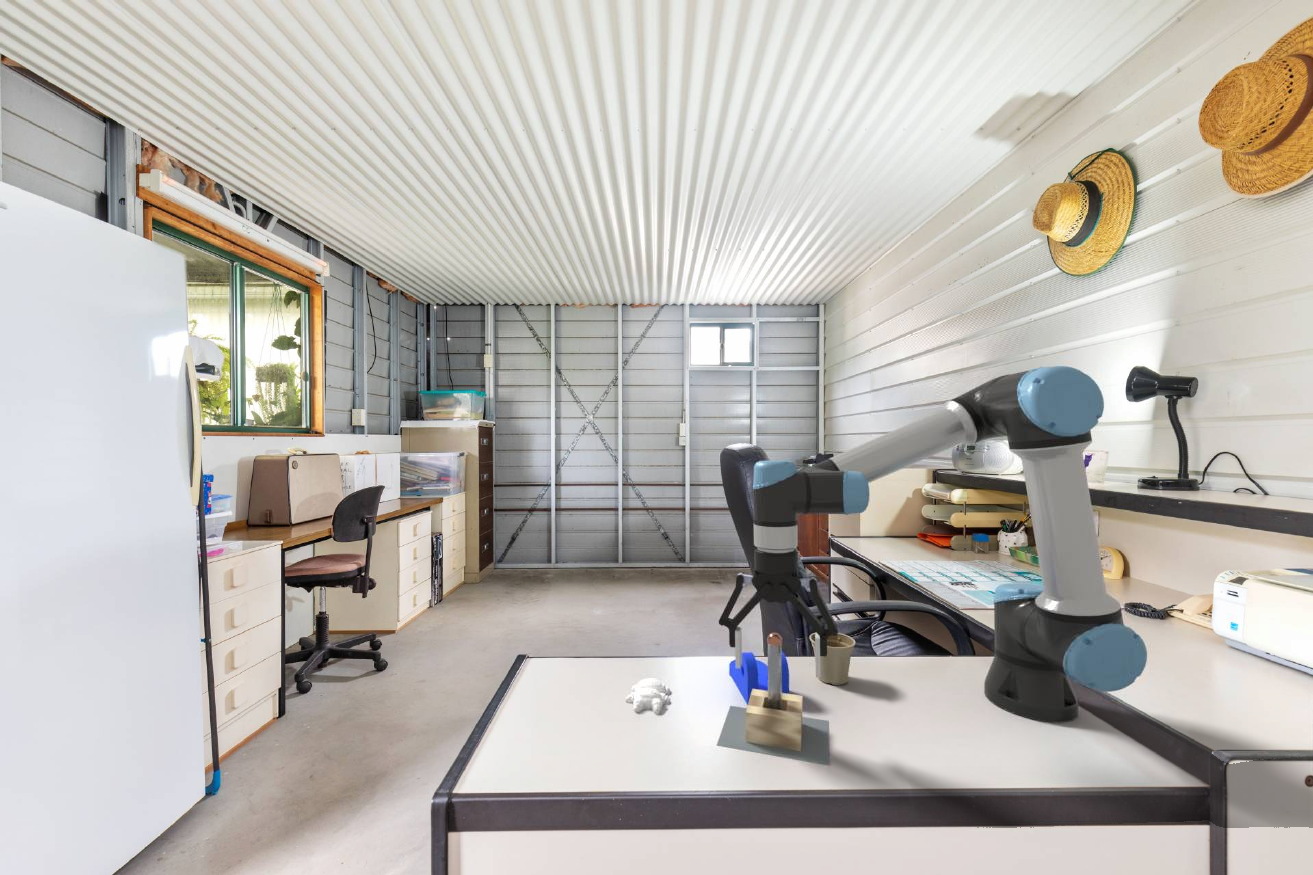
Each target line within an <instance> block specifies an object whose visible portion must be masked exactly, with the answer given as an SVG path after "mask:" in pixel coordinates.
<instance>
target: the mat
mask: <svg viewBox="0 0 1313 875" xmlns="http://www.w3.org/2000/svg"><path fill="white" fill-rule="evenodd" d="M746 710H747V707H742V706H737V705H736V706H733V705H729V709H728V711H727V715H726V716H725V717H726V718H725V721H724V723H723V726H722V728H721V732H720V734H719V738H718V740H717V744H716V746H717V747H722V748H723V747H724V748H728V749H729V748H730V749H735V750H739V751H740V750H741V751H746V752H753V753H756V754H757V753H758V754H764V755H768V756H772V757H773V756H774V757H780V758H784V759H792V760H796V761H802V762H808V763H814V764H819V765H825V766H830V765H831V764H830V761H831V759H830V729H829V728H830V727H829V724H830V722H829V720H827V719H819V718H812V717H804V716H803V722H802V739H801V751H796V750H790V749H784V748H779V747H773V746H767V745H761V744H756V743H750V742H746Z"/></svg>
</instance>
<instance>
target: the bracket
mask: <svg viewBox="0 0 1313 875" xmlns="http://www.w3.org/2000/svg"><path fill="white" fill-rule="evenodd" d="M728 668H729V669H728V670H729V672H728V674H729V677H731V679H732V681H733V682H734V684H735V686H736V688H737V689H738V691H739V693H740V695H741V697H742V698H743V699H744V701H745V704H746V706H748V703H749V699H750V696H751V692H752V689H758V690H765V691H768V664H766V663H765V662H763V661H761V660H759V659H756V656H755V654H754V653H753V652H752V651H750V652H749V651H747V652H745V651H744V652H742V664H741V667H740V668H736V664H735V659H733V660H732V661H730V662H729V666H728ZM782 693H786V694H790V668H789V663H788V659H787V657H786V654H785V653H784V652H783V651H782Z"/></svg>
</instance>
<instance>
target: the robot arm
mask: <svg viewBox="0 0 1313 875" xmlns="http://www.w3.org/2000/svg"><path fill="white" fill-rule="evenodd" d="M1104 409H1105V400H1104V396H1103V393H1102V390H1101V389H1100V386H1099V385H1098V384H1097V382H1096V381H1095V380H1094V379H1093V378H1092V377H1091V376H1090V375H1089V374H1086V373H1084V372H1083V371H1081V370H1080V369H1078V368H1074V367H1071V366H1068V365H1067V366H1065V365H1055V366H1040V367H1038V368H1034V369H1029V370H1025V371H1020V372H1015V373H1009V374H1005V375H1000V376H998V377H994V378H992V379H991V380H988V381H986V382H984V383H982V384H980V385H978V386H976V387H975V388H973V389H970V390H969V391H966V392H964V393H962V394H960V395H958V396H956V397H954V398H952V399H950V400H948V401H946V402H944V403H943V405H942V408H941V409H940V410H937V411H935V412H933V413H931V414H929V415H925V416H924V417H921V418H919V419H917V420H914V421H912V422H910V423H908V424H907V423H906V424H905V425H903V426H901V427H898V428H896V429H894V430H892V431H889V432H887V433H885V434H883V435H880V436H877V437H875V438H873V439H871V440H869V441H867V442H864V443H862V444H859V445H857V446H855V447H853V448H850V449H848V450H846V451H844V452H841V453H839V454H837V455H834V456H832V457H830V458H827V459H826V460H823V461H820V462H819V463H816V464H813V465H811V466H810V465H808V466H807V465H806V466H804V467H800V468H799V469H798V468H797V463H796V462H795V461H794V460H759V461H757V462H756V463H755V464H754V465H753V477H752V478H753V480H752V484H753V485H752V497H753V498H752V499H753V500H752V503H753V545H754V546H755V547H756V548H755V549H754V550H753V555H754V556H753V559H754V560H753V562H754V565H753V566H754V567H753V568H754V569H753V570H754V573H753V575H751V574H746V573H745V572H743V571H740V572H739V573H738V574H737V576H736V577H735V588H734V589H733V592H732V593H731V595H730V598H729V600H728V602H727V603H726V605H725V607H724V609H723V611H722V614H721V616H720V618H719V619H718V624H719V626H721V627H722V626H724V627H726V628H727V629H728V640H729V642H728V643H729V647H730V648H734V653H735V654H734V656H735V659H734V660H735V664H736V668H740V667H741V664H742V653H743V651H742V650H743V646H742V645H743V644H742V642H743V640H742V634H743V632H742V626H741V625H740V624H741V623H742V622H743V621H744V620H745V619H746V617H747V616H748V615H749V614H750V613H751V611H752V610H753V609H754V608H755V607H756V606H757V605H758V604H759V603H760V602H761V601H762V600H764V601H766V603H779V604H786V603H788V602H790V603H791V605H792V606H793V607H794V608H795V609H796V610H797V611H798V612H799V613H800V615H801V616H802V617H803V618H804V619H805V620H806V622H807V623H808V624H809V625H810V627H811V628H812V629H813V631H815V632H814V633H815V655H814V659H816V662H815V678H818V677H819V678H820V656H824V657H826V656H827V638H828V637H829V636H832V635H833V636H836V635H837V634H838V633H839V628H838V625H837V623H836V621H835V619H834V617H833V615H832V614H831V611H830V609H829V607H828V606H827V604H826V601H825V600H824V598H823V596H822V594H821V591H820V590H819V586H818V580H817V577H816V576H814V575H812V576H810V577H809V578H801V577H800V575H799V552H798V551H797V549H796V548H797V547H798V545H799V544H798V543H799V542H798V538H799V537H798V533H799V532H798V516H799V515H845V516H848V515H849V514H850V515H854V514H862V513H864V512H865V511H866V510H867V508H868V507H869V504H870V503H869V502H870V486H869V484H870V483H872V482H874V481H876V480H879V479H883V478H884V477H887V476H889V475H890V474H894V473H895V472H898V471H901V470H902V469H905V468H908V467H910V466H911V465H915V464H916V463H919V462H921V461H923V460H926V459H928V458H931V457H932V456H934V455H938V454H939V453H942V452H944V451H946V450H949V449H951V448H954V447H955V446H958V445H961V444H962V445H964V446H971V445H974V444H976V443H979V442H981V441H985V440H989V439H992V438H993V439H994V438H995V439H996V438H1000V437H1001V438H1002V437H1007V443H1008V449H1009V451H1010V452H1011V453H1013V455H1015V456H1017V457H1018V458H1019V459H1021V464H1022V465H1021V466H1022V470H1023V476H1024V481H1025V482H1024V483H1025V488H1026V492H1027V493H1026V494H1027V500H1028V504H1029V505H1028V506H1029V512H1030V518H1031V523H1032V530H1033V535H1034V541H1035V546H1036V553H1037V558H1038V559H1037V560H1038V565H1039V572H1040V576H1041V582H1042V585H1041V584H1030V583H1029V584H1028V583H1002V584H1000V585H997V587H995V589H994V595H993V596H994V597H993V605H994V606H993V607H994V608H993V610H994V611H993V612H994V614H993V615H994V616H993V618H994V622H993V623H994V630H993V631H994V657H993V659H992V662H991V664H990V666H989V670H988V672H987V675H986V677H985V679H984V685H983V686H984V688H983V689H984V693H983V694H984V695H985V698H987V699H988V700H989V702H991V703H992V704H994V705H996V706H997V707H999V708H1001V709H1003V710H1005V711H1006V712H1009V713H1012V714H1016V715H1018V716H1022V717H1024V718H1029V719H1032V720H1038V721H1045V722H1051V723H1053V722H1054V723H1065V722H1071V721H1073V720H1075V719H1077V718H1078V716H1079V702H1078V699H1077V696H1076V693H1075V690H1074V688H1073V685H1072V682H1071V681H1073V682H1075V683H1077V684H1080V685H1083V686H1084V687H1086V688H1089V689H1091V690H1094V691H1098V692H1106V693H1107V692H1108V693H1109V692H1115V691H1116V692H1117V691H1120V690H1123V689H1125V688H1127V687H1129V686H1131V685H1132V684H1134V683H1135V681H1136V679H1137V678H1138V677H1140V676H1141V675H1142V674H1143V672H1144V670H1145V668H1146V665H1147V662H1148V651H1147V646H1146V644H1145V641H1144V640H1143V638H1142V637H1141V636H1140V635H1139V634H1137V632H1136V631H1135V630H1133V629H1132V628H1131V627H1129V626H1126V625H1125V623H1124V618H1123V613H1122V608H1121V607H1122V606H1121V604H1120V602H1119V601H1118V600H1117V599H1116V598H1114V597H1113V596H1112V595H1110V594H1109V593H1107V589H1106V588H1107V587H1106V581H1105V576H1104V570H1103V565H1102V564H1103V563H1102V559H1101V553H1100V548H1099V540H1098V535H1097V529H1096V524H1095V519H1094V518H1095V517H1094V512H1093V506H1092V500H1091V495H1090V490H1089V484H1088V477H1087V471H1086V466H1085V460H1084V454H1083V453H1084V452H1085V450H1086V449H1087V448H1088V447H1089V446H1090V445H1091V444H1092V443H1093V439H1092V437H1093V436H1092V433H1091V432H1092V431H1091V430H1092V429H1094V428H1095V427H1096V426H1097V425H1098V424H1099V419H1100V418H1102V417H1103V414H1104ZM751 583H752V586H753V587H754V589H755V590H756V591H755V593H754V594H753V595H752V596H751V597H750V599H749V600H747V602H746V603H745V604H744V605H743V607H741V609H740V610H739V611H738V612H737V614H735V616H733V618H730V615H731V612H732V611H733V608H734V607H735V605H736V603H737V601H738V598H739V597H740V595H741V593H742V591H743V589H744V588H747V587H748V585H749V584H751ZM801 587H803V588H804V589H805V591H806V592H809V593H810V595H811V597H812V600H813V601H814V603H815V605H816V608H817V609H818V611H819V613H820V615H821V617H822V619H823V622H825V624H826V626H824V624H823V623H822V622H821V621H820V619H819V617H817V616H816V615H815V614H814V612H813V611H812V610H811V609H810V607H809V606H808V605H807V604H806V602H805V601H804V600H803V599H802V597H801V596H800V595H799V594H798V591H799V590H800V588H801ZM816 632H817V633H816ZM819 678H818V679H819Z"/></svg>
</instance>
